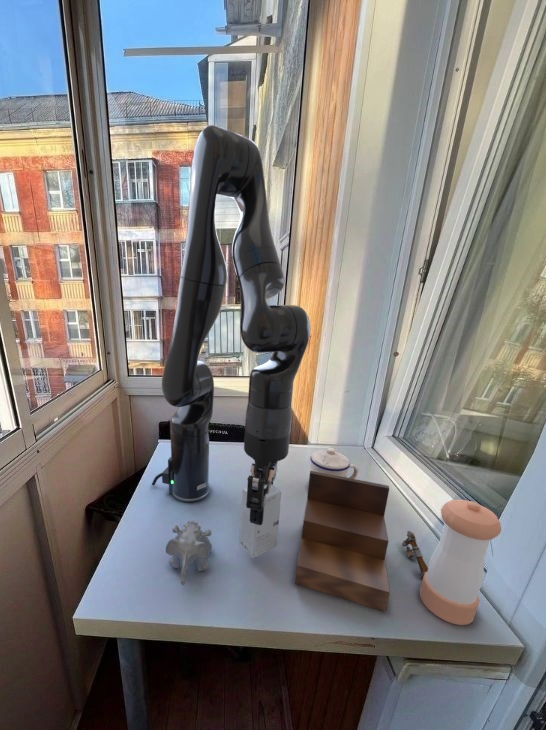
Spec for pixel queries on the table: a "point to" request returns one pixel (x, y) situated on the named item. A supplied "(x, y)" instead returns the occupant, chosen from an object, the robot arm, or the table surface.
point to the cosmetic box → (264, 535)
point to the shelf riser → (345, 540)
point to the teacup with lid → (331, 463)
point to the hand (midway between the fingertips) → (261, 509)
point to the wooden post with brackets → (415, 552)
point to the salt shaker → (459, 561)
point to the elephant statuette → (189, 548)
